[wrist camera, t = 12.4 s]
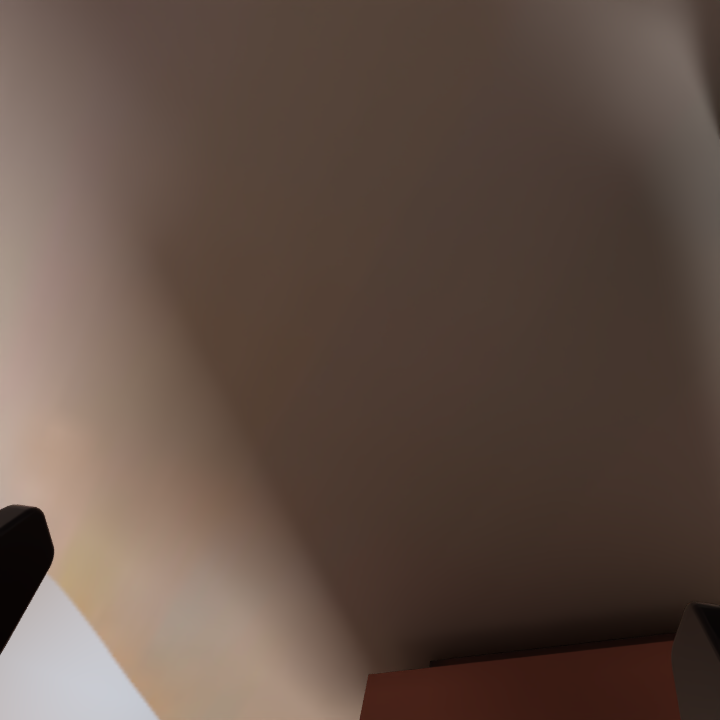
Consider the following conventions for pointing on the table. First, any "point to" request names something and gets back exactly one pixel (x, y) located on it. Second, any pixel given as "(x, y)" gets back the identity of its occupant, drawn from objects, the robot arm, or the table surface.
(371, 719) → the potted plant
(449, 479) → the table surface
